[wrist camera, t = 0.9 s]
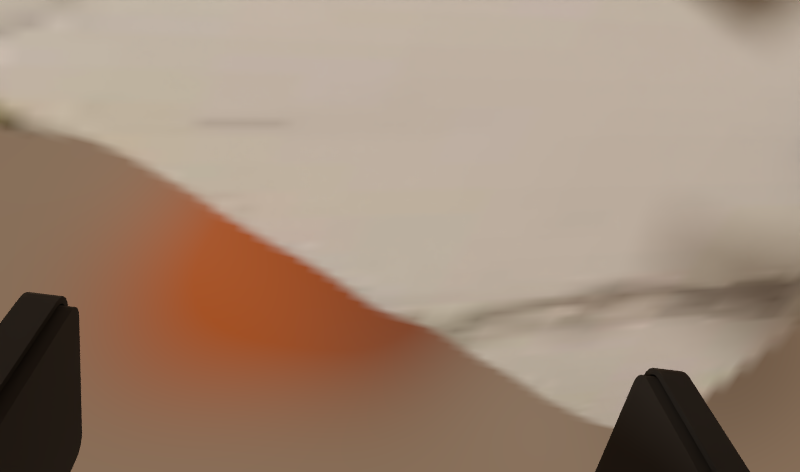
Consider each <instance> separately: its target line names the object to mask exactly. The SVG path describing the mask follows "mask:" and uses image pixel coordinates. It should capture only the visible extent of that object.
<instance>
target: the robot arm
mask: <svg viewBox="0 0 800 472" xmlns="http://www.w3.org/2000/svg"><path fill="white" fill-rule="evenodd" d="M80 382H81V377H80V336H79V312H78V309H77V308H76V307H70V306H68V304H67V300H66V298H65V297H63V296H56V295H47V294H40V293H31V292H26V293H24V294H23V295H22V296H21V297H20V298H19V299H18V301H17V302H16V303H15V304H14V306H13V307H12V308H11V310H10V311H9V312H8V314H7V315H6V316H5V318H4V319H3V320H2V322H1V323H0V472H70V471H71V469H72V467H73V465H74V463H75V460H76V458H77V455H78V453H79V449H80V445H81V438H82V419H81V383H80ZM595 472H750V471H749V470H748V468H747V467H746V465H745V463H744V462H743V460H742V459H741V457H740V455H739V454H738V452H737V451H736V449H735V448H734V446H733V445H732V443H731V441H730V440H729V438H728V437H727V436H726V434H725V432H724V431H723V429H722V427H721V426H720V424H719V423H718V421H717V420H716V418H715V417H714V415H713V413H712V412H711V410H710V409H709V407H708V406H707V404H706V403H705V401H704V399H703V398H702V396H701V395H700V393H699V392H698V390H697V388H696V387H695V385H694V384H693V382H692V381H691V379H690V378H689V376H688V375H687V374H686V373H684V372H682V371H674V370H666V369H658V368H651V369H649V370H648V371H646V373H645V374H644V375H639V376H638V377H637V378H636V379H635V381H634V383H633V385H632V387H631V390H630V392H629V394H628V397H627V399H626V401H625V404H624V406H623V408H622V411H621V413H620V415H619V418H618V420H617V422H616V425H615V427H614V429H613V432H612V434H611V436H610V439H609V441H608V443H607V446H606V448H605V450H604V453H603V455H602V457H601V460H600V462H599V464H598V467H597V469H596V471H595Z"/></svg>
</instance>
